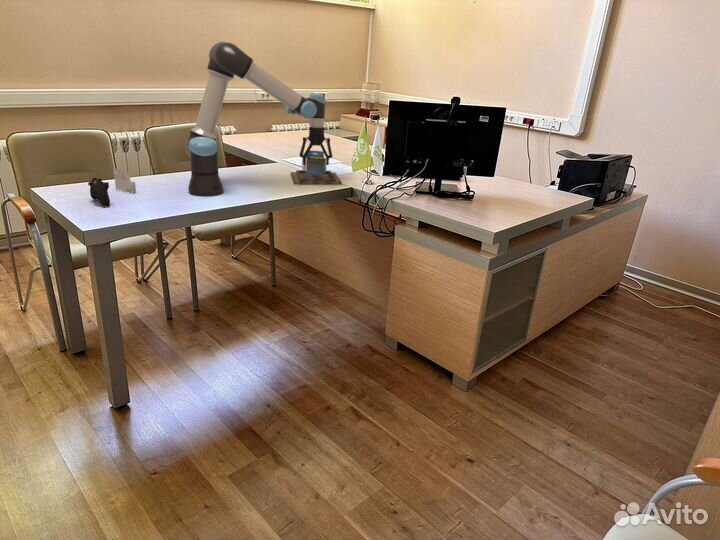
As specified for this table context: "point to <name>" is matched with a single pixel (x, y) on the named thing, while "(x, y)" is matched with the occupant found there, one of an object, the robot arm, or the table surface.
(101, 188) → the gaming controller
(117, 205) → the table surface
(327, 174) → the stand
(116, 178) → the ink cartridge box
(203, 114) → the robot arm
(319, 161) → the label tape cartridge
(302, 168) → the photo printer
